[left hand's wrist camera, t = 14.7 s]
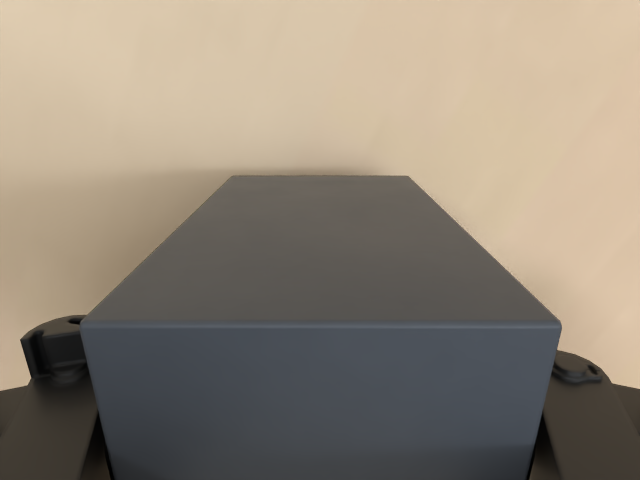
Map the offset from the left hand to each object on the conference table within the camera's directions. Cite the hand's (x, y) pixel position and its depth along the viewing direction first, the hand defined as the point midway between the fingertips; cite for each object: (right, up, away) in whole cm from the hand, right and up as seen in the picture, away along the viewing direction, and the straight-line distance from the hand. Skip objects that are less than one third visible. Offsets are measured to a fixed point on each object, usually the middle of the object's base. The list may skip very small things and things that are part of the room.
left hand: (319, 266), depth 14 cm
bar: (0, -7, +3) cm, 8 cm away
